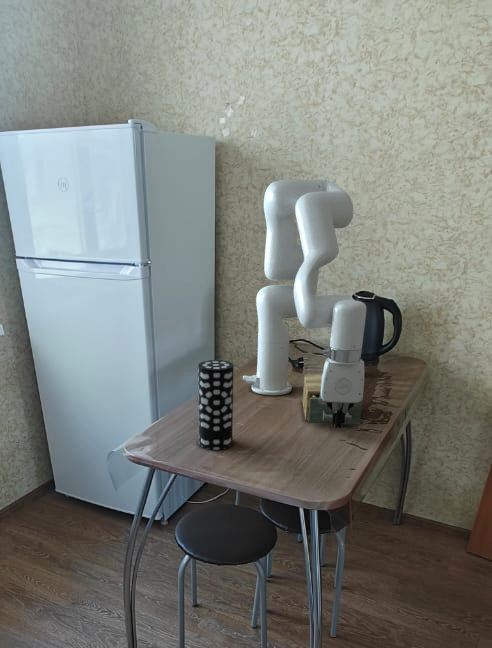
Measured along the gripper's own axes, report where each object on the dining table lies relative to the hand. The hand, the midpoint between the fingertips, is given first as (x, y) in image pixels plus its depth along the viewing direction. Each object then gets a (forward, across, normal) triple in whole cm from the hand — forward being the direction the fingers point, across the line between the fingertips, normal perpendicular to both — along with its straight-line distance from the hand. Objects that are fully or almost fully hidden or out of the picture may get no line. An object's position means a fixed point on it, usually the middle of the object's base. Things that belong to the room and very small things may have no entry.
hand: (337, 426), depth 146 cm
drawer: (+2, 0, +12) cm, 12 cm away
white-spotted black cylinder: (+3, -30, -6) cm, 31 cm away
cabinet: (+3, 0, +19) cm, 19 cm away
